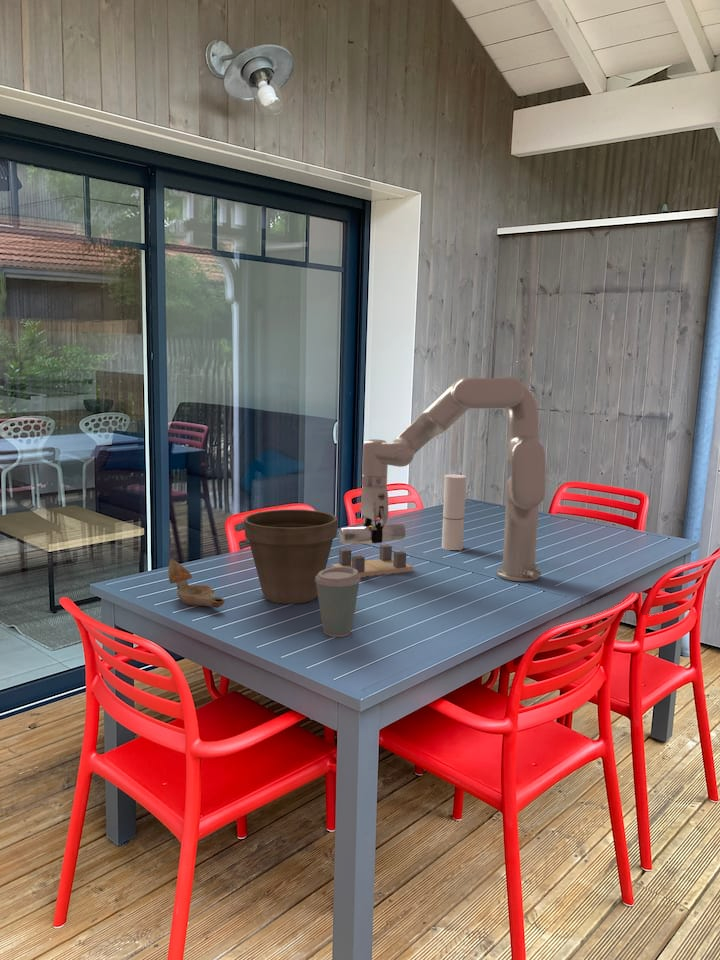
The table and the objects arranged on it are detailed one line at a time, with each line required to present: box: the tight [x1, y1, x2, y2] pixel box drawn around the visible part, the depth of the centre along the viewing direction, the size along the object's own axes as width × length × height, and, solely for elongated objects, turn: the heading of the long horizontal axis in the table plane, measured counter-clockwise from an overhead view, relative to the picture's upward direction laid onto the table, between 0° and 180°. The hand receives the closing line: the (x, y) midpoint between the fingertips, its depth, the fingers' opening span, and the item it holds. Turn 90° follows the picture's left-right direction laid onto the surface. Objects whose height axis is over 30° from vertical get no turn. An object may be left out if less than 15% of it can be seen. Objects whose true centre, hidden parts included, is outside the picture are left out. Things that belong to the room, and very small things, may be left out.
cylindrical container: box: [441, 473, 467, 551], centre depth 261 cm, size 7×7×25 cm
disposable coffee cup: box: [315, 566, 362, 638], centre depth 180 cm, size 11×11×15 cm
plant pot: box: [243, 509, 338, 605], centre depth 206 cm, size 25×25×22 cm
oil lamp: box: [167, 558, 226, 609], centre depth 199 cm, size 9×21×10 cm, turn 49°
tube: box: [338, 523, 406, 546], centre depth 232 cm, size 20×5×5 cm, turn 116°
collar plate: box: [330, 544, 414, 578], centre depth 234 cm, size 11×22×6 cm, turn 116°
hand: (372, 539), depth 233 cm, fingers closed on tube, 5 cm apart
